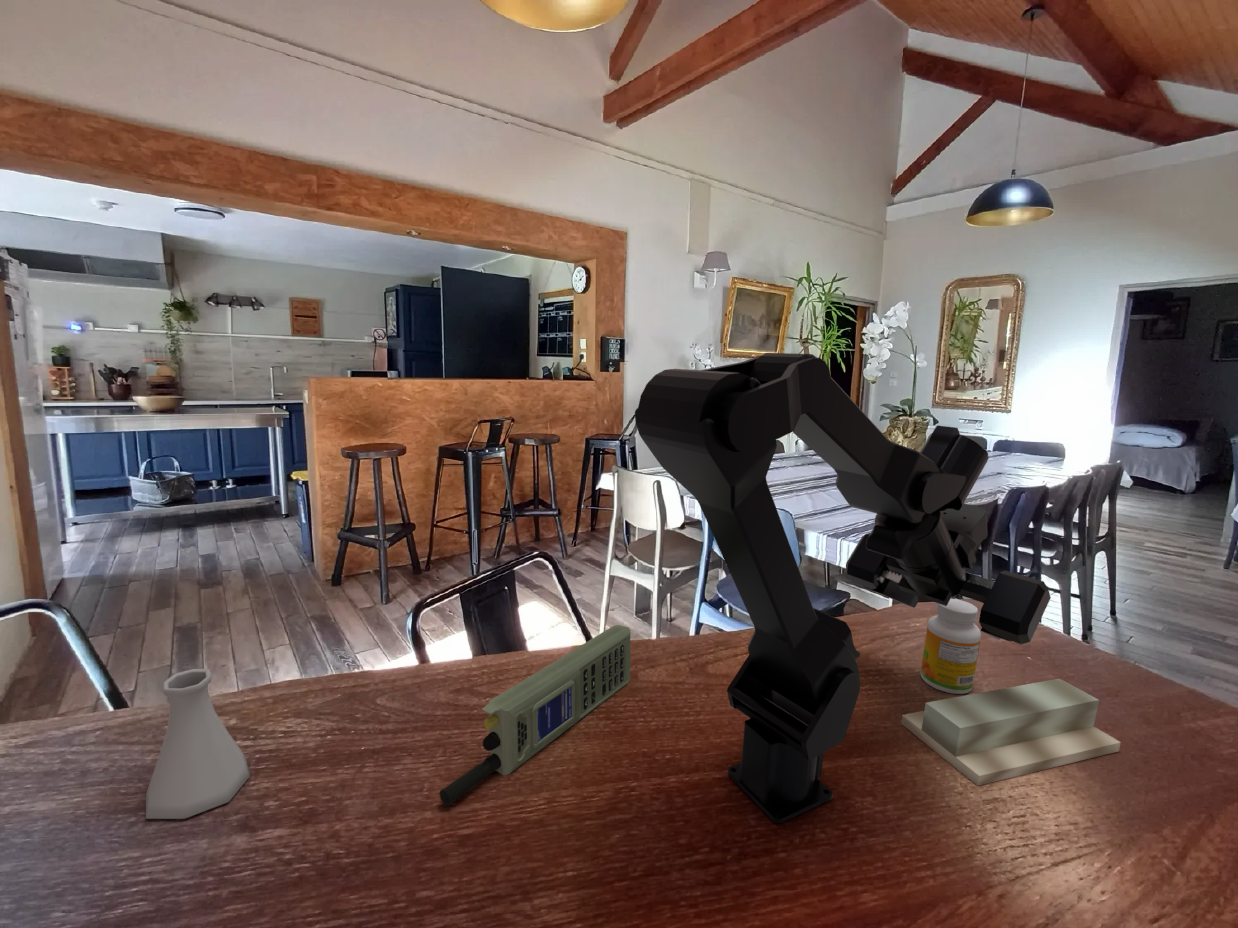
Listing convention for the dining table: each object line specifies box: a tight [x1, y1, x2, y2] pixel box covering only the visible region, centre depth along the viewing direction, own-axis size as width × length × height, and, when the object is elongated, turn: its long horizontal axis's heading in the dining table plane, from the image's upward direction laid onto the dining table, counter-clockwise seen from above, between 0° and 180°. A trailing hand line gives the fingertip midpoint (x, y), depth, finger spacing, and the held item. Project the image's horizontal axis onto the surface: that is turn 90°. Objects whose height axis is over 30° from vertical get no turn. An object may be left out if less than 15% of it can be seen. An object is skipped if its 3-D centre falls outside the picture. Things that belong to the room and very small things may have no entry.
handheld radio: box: [439, 624, 631, 807], centre depth 56 cm, size 7×3×25 cm
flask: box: [145, 668, 251, 820], centre depth 47 cm, size 7×7×10 cm
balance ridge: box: [900, 678, 1121, 787], centre depth 58 cm, size 18×9×4 cm, turn 107°
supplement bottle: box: [920, 598, 982, 695], centre depth 67 cm, size 5×5×10 cm
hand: (955, 618), depth 66 cm, fingers open, 9 cm apart
